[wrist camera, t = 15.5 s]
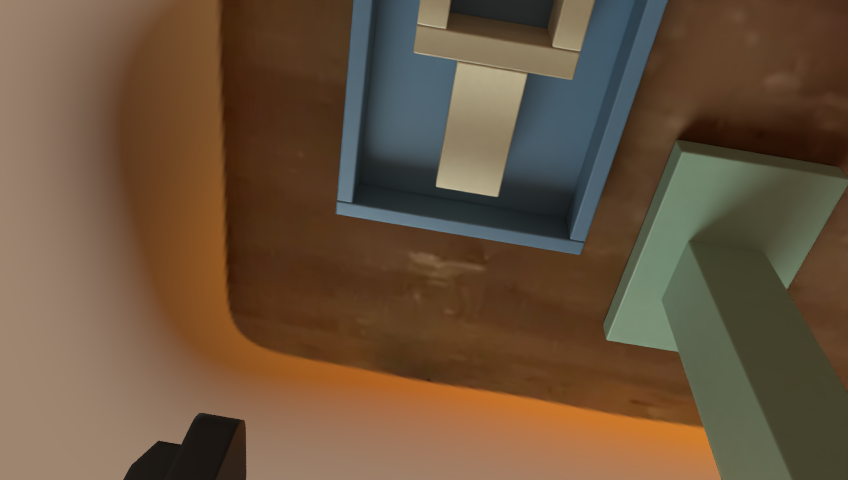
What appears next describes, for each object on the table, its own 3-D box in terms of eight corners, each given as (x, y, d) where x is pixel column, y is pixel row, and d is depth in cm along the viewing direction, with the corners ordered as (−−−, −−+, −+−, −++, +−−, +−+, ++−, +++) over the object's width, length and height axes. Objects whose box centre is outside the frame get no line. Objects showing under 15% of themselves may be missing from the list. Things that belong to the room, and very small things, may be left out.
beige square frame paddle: (442, -137, 19) (437, -130, 18) (612, -107, 19) (623, -98, 18) (401, 154, 25) (395, 180, 23) (534, 177, 25) (538, 204, 23)
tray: (389, -305, 18) (379, -314, 16) (729, -244, 18) (753, -247, 16) (345, 187, 26) (335, 214, 25) (575, 226, 26) (580, 255, 25)
